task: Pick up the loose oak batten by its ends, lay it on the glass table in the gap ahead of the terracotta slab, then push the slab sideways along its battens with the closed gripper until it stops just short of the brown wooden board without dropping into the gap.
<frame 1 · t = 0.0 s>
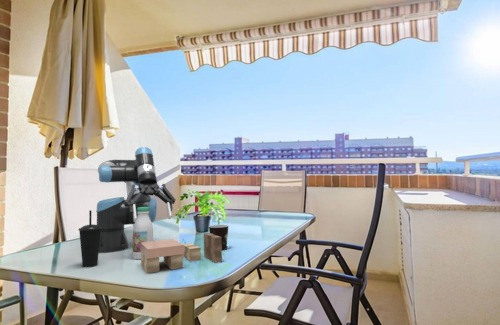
hand: (153, 218, 125), 15 cm above the table, tool tilted 35°, fingers open, 13 cm apart
slab: (161, 252, 110), point 5 cm above the table, touching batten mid, batten rear
batten rear: (149, 268, 107), on the table
brown wooden board: (212, 259, 118), on the table
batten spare: (191, 258, 122), on the table
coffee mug: (216, 250, 135), on the table
milk bottle: (143, 257, 124), on the table
drinking cup: (89, 266, 114), on the table
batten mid: (172, 265, 111), on the table
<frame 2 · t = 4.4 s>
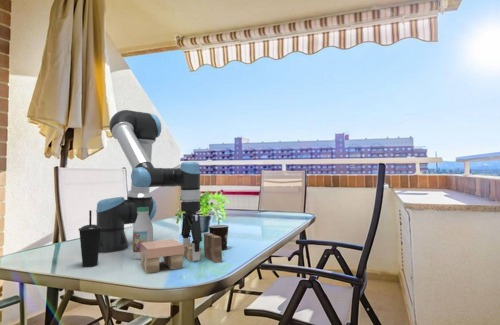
hand: (191, 257, 122), 0 cm above the table, tool pointing down, fingers closed on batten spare, 11 cm apart
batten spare: (191, 258, 121), on the table, touching gripper
everything else where it was.
when the fingers open (1 cm above the table, at t = 8.4 s): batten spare stays where it is, on the table.
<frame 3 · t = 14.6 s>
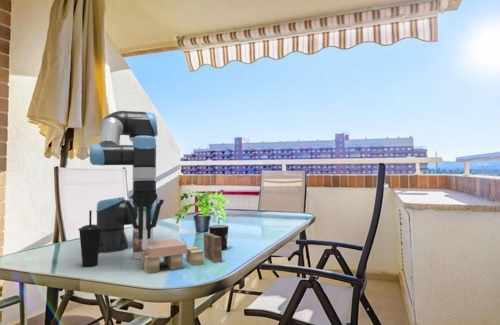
hand: (144, 248, 107), 7 cm above the table, tool pointing down, fingers closed
slab: (164, 252, 110), point 5 cm above the table
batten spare: (194, 262, 115), on the table
everything else where it was.
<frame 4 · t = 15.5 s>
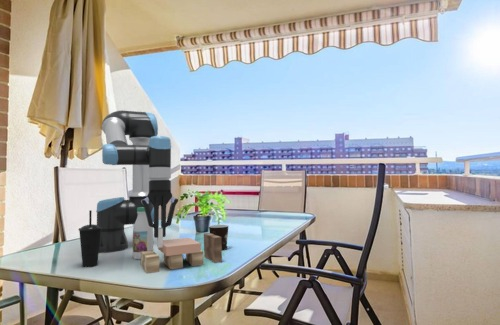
hand: (159, 246, 109), 7 cm above the table, tool pointing down, fingers closed
slab: (178, 250, 112), point 5 cm above the table, touching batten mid, gripper
everything else where it was.
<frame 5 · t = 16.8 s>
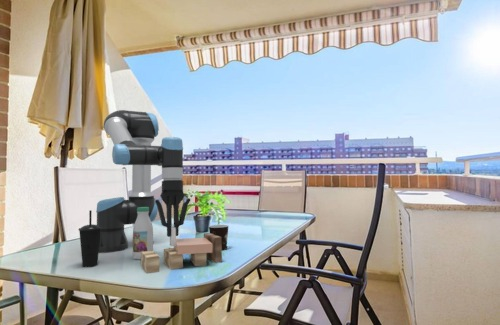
hand: (172, 245, 112), 7 cm above the table, tool pointing down, fingers closed
slab: (192, 249, 114), point 5 cm above the table, touching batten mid, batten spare
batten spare: (198, 262, 115), on the table, touching slab
everything else where it was.
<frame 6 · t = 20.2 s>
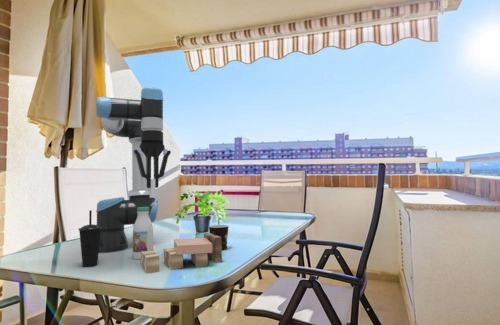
hand: (152, 197, 109), 24 cm above the table, tool pointing down, fingers closed
nothing on the table moved.
at the end: slab inside the target area (2.6 cm from its centre), point 4.8 cm above the table; slab tilted 2° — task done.
